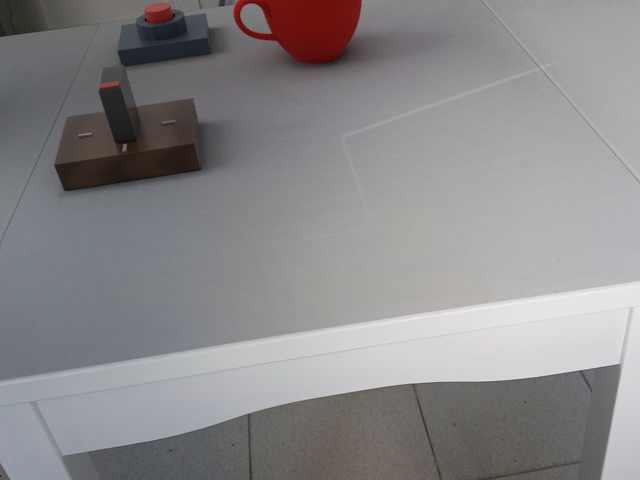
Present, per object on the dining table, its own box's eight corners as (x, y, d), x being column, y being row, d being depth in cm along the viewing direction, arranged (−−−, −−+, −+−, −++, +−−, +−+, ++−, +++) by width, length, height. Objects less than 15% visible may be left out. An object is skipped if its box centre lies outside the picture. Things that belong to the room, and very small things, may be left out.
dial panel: (64, 191, 74) (53, 163, 72) (75, 141, 82) (65, 115, 80) (200, 169, 75) (193, 141, 73) (198, 123, 83) (192, 96, 81)
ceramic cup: (225, 60, 96) (209, -22, 89) (336, 27, 101) (329, -52, 94) (266, 92, 87) (252, 5, 81) (385, 55, 93) (382, -30, 86)
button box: (121, 67, 97) (112, 36, 94) (126, 40, 104) (117, 11, 102) (211, 54, 98) (204, 23, 95) (208, 28, 105) (203, -1, 102)
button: (146, 27, 97) (143, 13, 96) (147, 18, 100) (144, 4, 99) (173, 23, 98) (170, 9, 96) (173, 14, 100) (170, 0, 99)
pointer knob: (118, 118, 78) (102, 65, 75) (138, 115, 79) (123, 62, 75) (115, 143, 74) (97, 89, 70) (136, 140, 74) (120, 85, 70)
